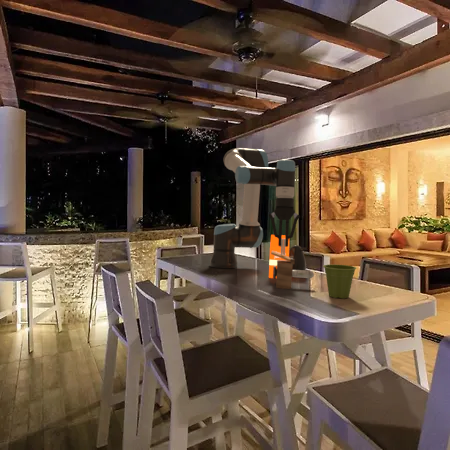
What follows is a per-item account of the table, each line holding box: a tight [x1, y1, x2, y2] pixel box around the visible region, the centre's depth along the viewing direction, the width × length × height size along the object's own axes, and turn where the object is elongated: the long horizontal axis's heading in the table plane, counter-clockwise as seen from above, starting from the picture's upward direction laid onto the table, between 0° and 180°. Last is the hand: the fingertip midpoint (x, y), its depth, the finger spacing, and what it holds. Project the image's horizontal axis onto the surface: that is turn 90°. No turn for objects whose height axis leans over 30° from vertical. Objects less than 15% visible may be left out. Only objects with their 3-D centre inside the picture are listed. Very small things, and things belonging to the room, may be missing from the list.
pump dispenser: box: [289, 244, 307, 271], centre depth 174 cm, size 10×10×15 cm
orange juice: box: [268, 234, 290, 279], centre depth 170 cm, size 8×9×20 cm
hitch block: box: [275, 256, 295, 290], centre depth 149 cm, size 10×7×12 cm, turn 172°
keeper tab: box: [271, 251, 293, 261], centre depth 149 cm, size 8×10×1 cm
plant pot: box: [322, 263, 357, 299], centre depth 134 cm, size 12×12×11 cm
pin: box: [272, 266, 315, 280], centre depth 149 cm, size 5×17×5 cm, turn 82°
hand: (282, 254), depth 149 cm, fingers closed
